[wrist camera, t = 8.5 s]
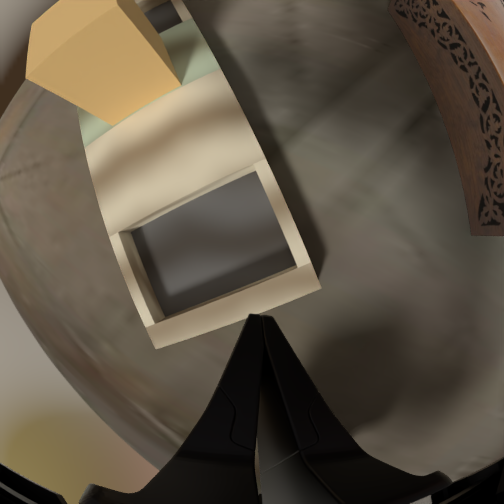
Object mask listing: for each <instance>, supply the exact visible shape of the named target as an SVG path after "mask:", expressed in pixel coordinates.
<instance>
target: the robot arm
mask: <svg viewBox="0 0 504 504" xmlns="http://www.w3.org/2000/svg"><path fill="white" fill-rule="evenodd" d="M317 392H318V390H317V388H316V387H315V385H314V383H313V382H312V380H311V379H310V377H309V375H308V374H307V372H306V370H305V369H304V367H303V366H302V364H301V362H300V361H299V359H298V357H297V356H296V354H295V352H294V351H293V349H292V347H291V346H290V344H289V343H288V341H287V339H286V338H285V336H284V334H283V333H282V331H281V329H280V328H279V326H278V324H277V323H276V321H275V319H274V318H273V317H272V316H268V315H261V316H260V315H259V314H252V313H250V314H249V315H248V317H247V319H246V322H245V324H244V326H243V329H242V331H241V333H240V336H239V338H238V340H237V342H236V345H235V347H234V349H233V352H232V354H231V356H230V358H229V361H228V363H227V365H226V367H225V370H224V372H223V374H222V377H221V379H220V381H219V383H218V386H217V387H216V390H215V392H214V394H213V396H212V398H211V400H210V402H209V404H208V406H207V408H206V410H205V411H204V413H203V415H202V416H201V418H200V419H199V421H198V422H197V424H196V425H195V427H194V428H193V430H192V431H191V433H190V434H189V435H188V437H187V438H186V440H185V441H184V443H183V444H182V446H181V447H180V448H179V450H178V451H177V452H176V454H175V455H174V456H173V457H172V459H171V460H170V461H169V462H168V463H167V464H166V465H165V466H164V467H163V468H162V469H161V470H160V471H159V473H158V474H157V475H156V476H155V477H154V478H153V479H152V480H151V481H150V482H149V483H148V484H147V485H146V486H145V487H144V488H143V489H141V490H140V491H138V492H135V493H129V494H128V493H122V492H118V491H115V490H111V489H108V488H105V487H102V486H98V485H95V484H89V485H88V486H87V488H86V490H85V491H84V493H83V495H82V497H81V499H80V500H79V504H504V457H502V458H501V459H499V460H497V461H495V462H494V463H492V464H490V465H488V466H486V467H484V468H482V469H480V470H478V471H476V472H474V473H472V474H470V475H468V476H466V477H463V478H461V479H459V480H456V481H454V482H452V481H451V479H450V478H449V477H448V476H447V475H445V474H444V473H442V472H440V471H436V472H433V473H431V474H429V475H426V476H417V475H412V474H409V473H407V472H405V471H402V470H400V469H398V468H395V467H393V466H391V465H389V464H387V463H384V462H382V461H380V460H378V459H376V458H374V457H372V456H370V455H369V454H367V453H366V452H365V451H364V450H363V449H362V448H361V447H360V446H359V445H358V444H357V443H356V442H355V440H354V439H353V438H352V437H351V436H350V434H349V433H348V432H347V431H346V429H345V428H344V427H343V426H342V425H341V423H340V422H339V421H338V419H337V418H336V417H335V415H334V414H333V413H332V412H331V410H330V409H329V407H328V406H327V404H326V403H325V401H324V399H323V398H322V396H321V395H320V393H319V392H318V393H317ZM256 438H257V440H258V453H259V466H260V474H261V475H260V479H261V491H262V494H259V496H258V489H257V482H256V475H255V452H254V451H255V448H256ZM0 504H67V502H66V501H65V499H64V498H63V496H62V495H60V494H58V493H56V492H54V491H51V490H49V489H47V488H45V487H43V486H41V485H39V484H37V483H35V482H33V481H31V480H29V479H28V478H26V477H24V476H22V475H20V474H19V473H16V472H15V471H13V470H12V469H10V468H8V467H7V466H5V465H3V464H2V463H0Z"/></svg>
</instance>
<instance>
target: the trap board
mask: <svg viewBox="0 0 504 504" xmlns="http://www.w3.org/2000/svg"><path fill="white" fill-rule="evenodd" d="M134 1H135V2H136V4H137V5H138V6H139V8H140V9H141V10H142V12H143V13H144V15H145V16H146V17H147V19H148V20H149V21H150V23H151V24H152V26H153V27H154V28H155V30H156V31H157V33H158V34H159V35H160V37H161V38H162V41H163V43H164V45H165V48H166V50H167V52H168V55H169V57H170V59H171V62H172V64H173V66H174V69H175V71H176V73H177V76H178V78H179V81H180V83H181V86H179V87H177V88H175V89H173V90H172V91H170V92H168V93H166V94H164V95H162V96H161V97H159V98H157V99H155V100H154V101H152V102H150V103H148V104H147V105H145V106H143V107H142V108H140V109H138V110H137V111H135V112H134V113H132V114H130V115H129V116H127V117H126V118H124V119H123V120H121V121H119V122H118V123H116V124H115V125H113V126H112V125H110V124H108V123H107V122H105V121H103V120H101V119H100V118H98V117H96V116H94V115H93V114H91V113H89V112H87V111H86V110H84V109H82V108H80V107H78V106H77V111H78V117H79V123H80V128H81V133H82V138H83V143H84V148H85V152H86V157H87V161H88V165H89V169H90V173H91V177H92V181H93V185H94V189H95V192H96V196H97V199H98V203H99V206H100V210H101V213H102V216H103V219H104V223H105V226H106V229H107V232H108V235H109V238H110V241H111V244H112V246H113V249H114V252H115V255H116V258H117V260H118V263H119V266H120V268H121V271H122V274H123V276H124V279H125V281H126V284H127V286H128V289H129V291H130V293H131V296H132V298H133V300H134V303H135V305H136V307H137V310H138V312H139V314H140V316H141V319H142V321H143V323H144V325H145V327H146V329H147V332H148V334H149V336H150V338H151V340H152V342H153V344H154V346H155V348H156V349H158V348H161V347H164V346H168V345H171V344H174V343H177V342H180V341H183V340H186V339H189V338H192V337H195V336H198V335H201V334H204V333H207V332H209V331H212V330H215V329H218V328H221V327H224V326H226V325H229V324H232V323H235V322H237V321H240V320H243V319H245V318H247V317H248V315H249V314H250V313H252V314H259V313H261V312H264V311H267V310H269V309H272V308H274V307H277V306H279V305H282V304H284V303H287V302H289V301H292V300H294V299H297V298H299V297H302V296H304V295H307V294H309V293H311V292H314V291H316V290H319V289H321V286H320V283H319V281H318V278H317V276H316V273H315V271H314V268H313V266H312V263H311V261H310V258H309V256H308V253H307V251H306V249H305V246H304V244H303V241H302V239H301V237H300V234H299V232H298V229H297V227H296V225H295V222H294V220H293V218H292V216H291V213H290V211H289V209H288V206H287V204H286V202H285V200H284V197H283V195H282V193H281V191H280V188H279V186H278V184H277V182H276V180H275V177H274V175H273V173H272V171H271V169H270V166H269V164H268V162H267V160H266V158H265V156H264V154H263V152H262V149H261V147H260V145H259V143H258V141H257V139H256V137H255V135H254V133H253V131H252V129H251V127H250V125H249V123H248V121H247V119H246V117H245V115H244V113H243V111H242V109H241V107H240V105H239V103H238V101H237V99H236V97H235V95H234V93H233V91H232V89H231V87H230V85H229V83H228V81H227V79H226V78H225V76H224V74H223V72H222V70H221V68H220V66H219V64H218V63H217V61H216V59H215V57H214V55H213V53H212V52H211V50H210V48H209V46H208V44H207V43H206V41H205V39H204V37H203V35H202V34H201V32H200V30H199V28H198V27H197V25H196V23H195V21H194V20H193V18H192V16H191V15H190V13H189V11H188V10H187V8H186V6H185V5H184V3H183V1H182V0H134Z"/></svg>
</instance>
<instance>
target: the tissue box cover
mask: <svg viewBox="0 0 504 504" xmlns="http://www.w3.org/2000/svg"><path fill="white" fill-rule="evenodd" d="M388 11H389V13H390V14H391V16H392V17H393V19H394V20H395V22H396V24H397V25H398V27H399V29H400V30H401V32H402V34H403V35H404V37H405V39H406V40H407V42H408V44H409V46H410V48H411V49H412V51H413V53H414V55H415V57H416V59H417V61H418V63H419V65H420V67H421V69H422V71H423V73H424V75H425V77H426V79H427V81H428V84H429V86H430V88H431V91H432V93H433V95H434V98H435V100H436V102H437V105H438V107H439V110H440V113H441V115H442V118H443V121H444V124H445V126H446V129H447V132H448V135H449V138H450V141H451V145H452V148H453V151H454V155H455V158H456V162H457V165H458V169H459V173H460V177H461V181H462V186H463V190H464V195H465V200H466V205H467V210H468V216H469V222H470V229H471V235H474V236H504V0H391V2H390V5H389V7H388Z"/></svg>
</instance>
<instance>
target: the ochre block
mask: <svg viewBox="0 0 504 504" xmlns="http://www.w3.org/2000/svg"><path fill="white" fill-rule="evenodd" d="M26 79H28V80H30V81H32V82H34V83H36V84H38V85H40V86H42V87H44V88H45V89H47V90H49V91H51V92H53V93H55V94H57V95H58V96H60V97H62V98H64V99H66V100H68V101H69V102H71V103H73V104H75V105H77V106H78V107H80V108H82V109H84V110H86V111H87V112H89V113H91V114H93V115H94V116H96V117H98V118H100V119H101V120H103V121H105V122H107V123H108V124H110V125H112V126H113V125H115V124H116V123H118V122H119V121H121V120H123V119H124V118H126V117H127V116H129V115H130V114H132V113H134V112H135V111H137V110H138V109H140V108H142V107H143V106H145V105H147V104H148V103H150V102H152V101H154V100H155V99H157V98H159V97H161V96H162V95H164V94H166V93H168V92H170V91H172V90H173V89H175V88H177V87H179V86H181V83H180V81H179V78H178V76H177V73H176V71H175V69H174V66H173V64H172V62H171V59H170V57H169V55H168V52H167V50H166V48H165V45H164V43H163V41H162V38H161V37H160V35H159V34H158V33H157V31H156V30H155V28H154V27H153V26H152V24H151V23H150V21H149V20H148V19H147V17H146V16H145V15H144V13H143V12H142V10H141V9H140V8H139V6H138V5H137V4H136V2H135V1H134V0H59V1H58V2H57V3H56V4H54V5H53V6H52V7H51V8H50V9H48V10H47V11H46V12H45V13H44V14H43V15H41V16H40V17H39V18H38V19H37V20H36V21H35V22H34V23H33V24H32V27H31V33H30V41H29V47H28V57H27V68H26Z"/></svg>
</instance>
